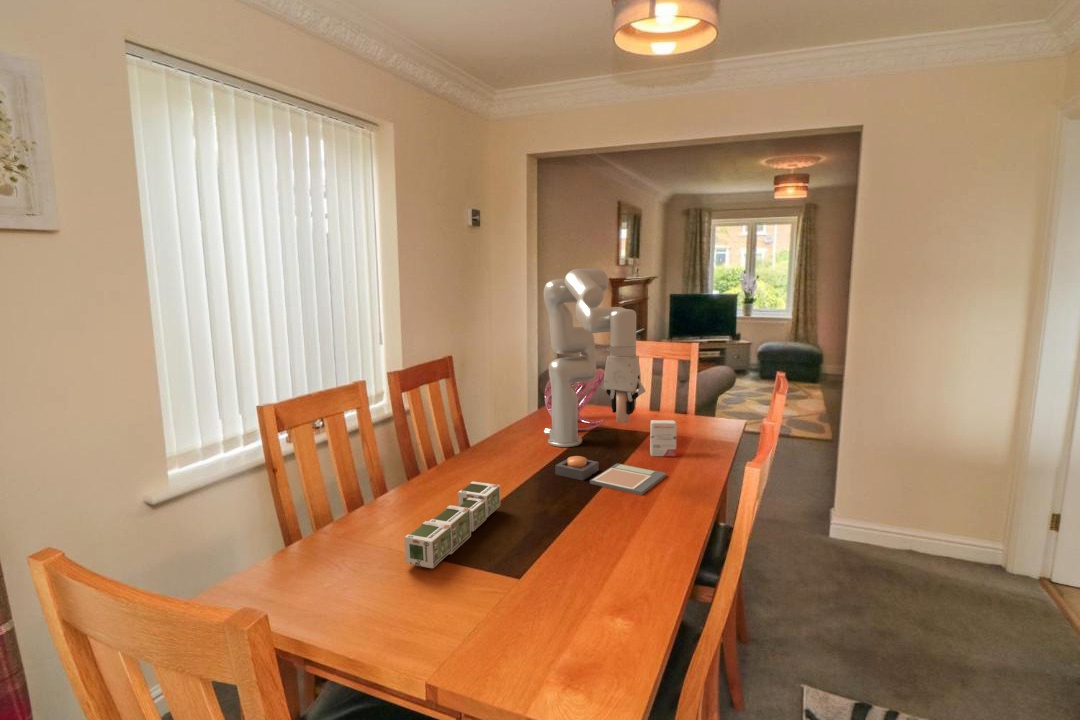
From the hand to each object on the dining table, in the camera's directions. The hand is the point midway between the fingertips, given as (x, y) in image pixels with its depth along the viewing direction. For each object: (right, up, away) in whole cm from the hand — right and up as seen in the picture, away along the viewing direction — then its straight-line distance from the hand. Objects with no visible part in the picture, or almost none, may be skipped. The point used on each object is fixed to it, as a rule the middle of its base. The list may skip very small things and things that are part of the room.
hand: (622, 412), depth 176 cm
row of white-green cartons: (-45, -28, -30) cm, 61 cm away
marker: (0, -3, 0) cm, 3 cm away
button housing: (-13, -20, +12) cm, 27 cm away
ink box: (+18, -17, +28) cm, 38 cm away
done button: (-13, -18, +12) cm, 25 cm away
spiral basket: (-10, -12, +65) cm, 67 cm away
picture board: (+2, -21, +5) cm, 22 cm away
